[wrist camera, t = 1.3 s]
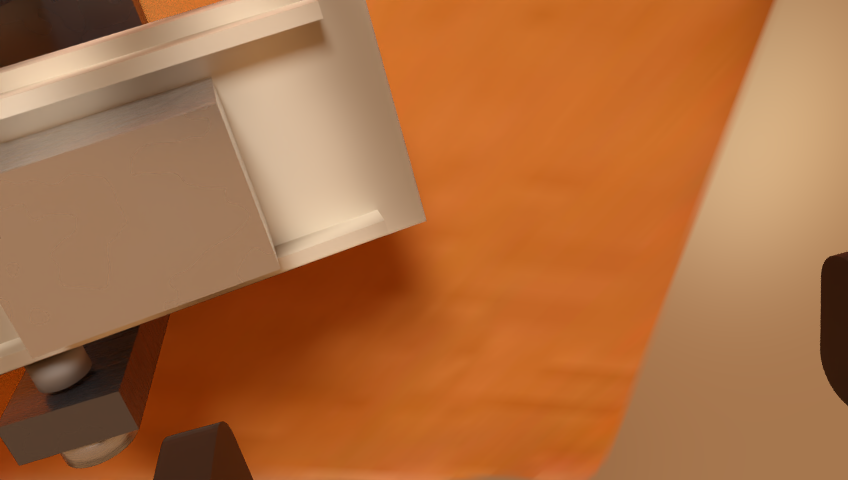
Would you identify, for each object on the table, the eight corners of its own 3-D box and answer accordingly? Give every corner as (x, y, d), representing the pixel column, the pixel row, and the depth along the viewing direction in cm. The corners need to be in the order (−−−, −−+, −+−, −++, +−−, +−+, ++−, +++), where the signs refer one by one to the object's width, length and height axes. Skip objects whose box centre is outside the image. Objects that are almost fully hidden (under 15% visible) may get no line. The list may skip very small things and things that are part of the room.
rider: (210, 76, 23) (216, 103, 20) (267, 224, 25) (280, 268, 22) (-31, 153, 22) (-65, 194, 19) (50, 300, 24) (32, 358, 21)
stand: (93, -111, 28) (-6, -103, 18) (251, 279, 35) (238, 425, 26) (-182, -34, 28) (-424, 14, 18) (36, 343, 35) (-56, 514, 26)
